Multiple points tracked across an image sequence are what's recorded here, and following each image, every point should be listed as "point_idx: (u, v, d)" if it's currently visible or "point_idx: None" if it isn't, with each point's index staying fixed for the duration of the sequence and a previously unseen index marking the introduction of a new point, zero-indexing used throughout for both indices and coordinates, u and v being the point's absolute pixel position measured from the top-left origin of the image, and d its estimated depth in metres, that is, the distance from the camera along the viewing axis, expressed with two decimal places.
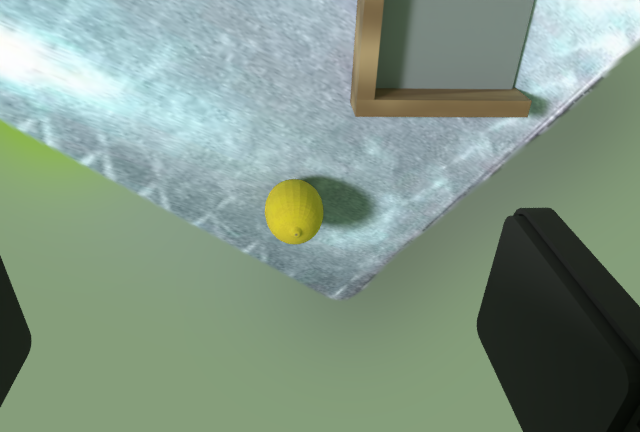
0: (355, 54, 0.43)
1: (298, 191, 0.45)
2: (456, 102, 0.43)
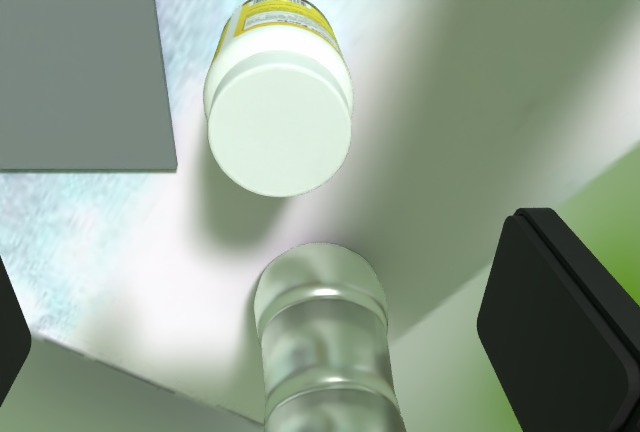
0: None
1: None
2: None
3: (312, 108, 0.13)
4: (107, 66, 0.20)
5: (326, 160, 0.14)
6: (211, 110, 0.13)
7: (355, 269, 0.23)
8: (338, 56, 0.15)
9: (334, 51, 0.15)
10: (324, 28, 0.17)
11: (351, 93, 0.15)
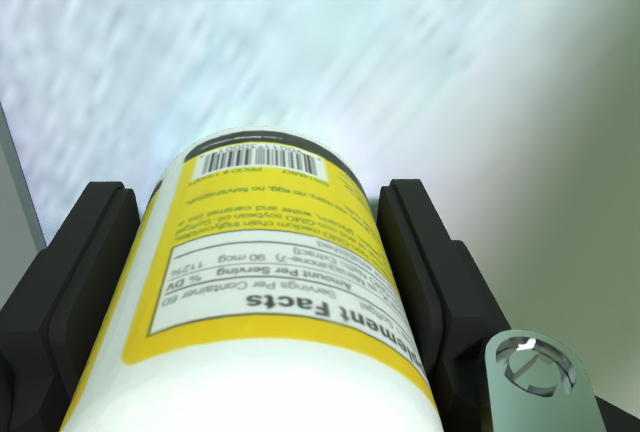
0: None
1: None
2: None
3: None
4: None
5: None
6: None
7: None
8: (417, 402, 0.05)
9: (407, 392, 0.05)
10: (363, 255, 0.07)
11: None
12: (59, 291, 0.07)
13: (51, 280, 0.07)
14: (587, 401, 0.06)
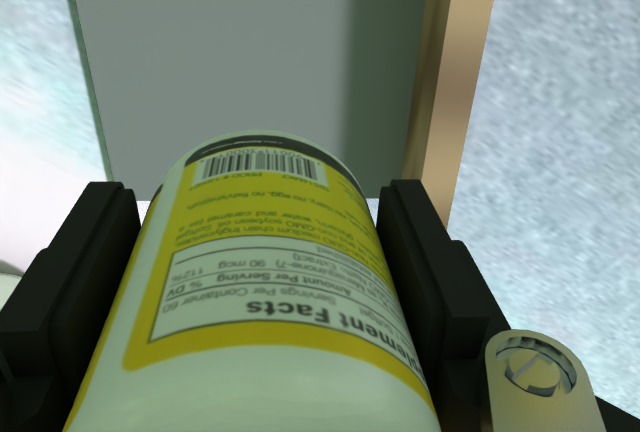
0: None
1: None
2: None
3: None
4: None
5: None
6: None
7: None
8: (416, 408, 0.05)
9: (406, 398, 0.05)
10: (362, 260, 0.07)
11: None
12: (59, 291, 0.07)
13: (51, 280, 0.07)
14: (587, 401, 0.06)
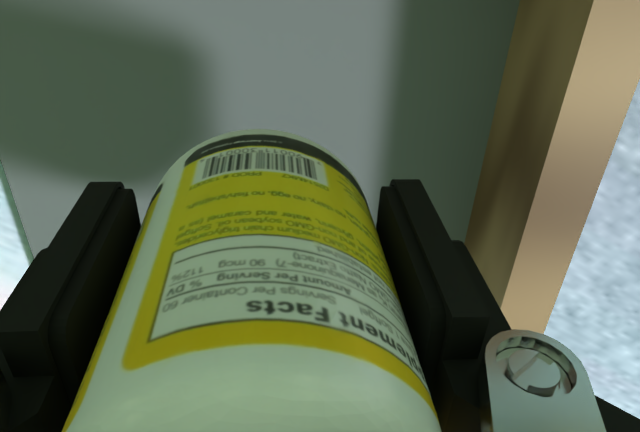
0: None
1: None
2: None
3: None
4: None
5: None
6: None
7: None
8: (416, 407, 0.05)
9: (406, 397, 0.05)
10: (362, 259, 0.07)
11: None
12: (59, 291, 0.07)
13: (51, 280, 0.07)
14: (587, 401, 0.06)
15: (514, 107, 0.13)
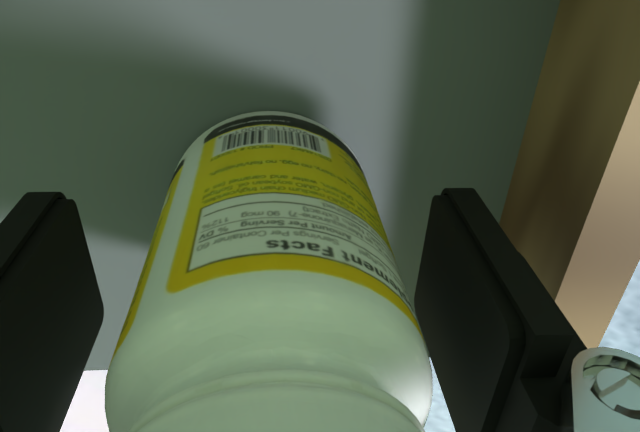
0: None
1: None
2: None
3: None
4: None
5: None
6: None
7: None
8: (405, 325, 0.07)
9: (397, 316, 0.07)
10: (361, 216, 0.08)
11: (430, 390, 0.07)
12: None
13: None
14: None
15: (550, 132, 0.11)
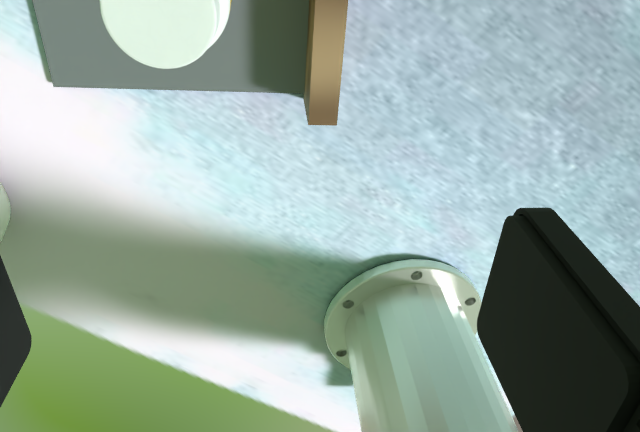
0: None
1: None
2: None
3: None
4: None
5: (198, 36, 0.18)
6: None
7: (0, 238, 0.29)
8: None
9: None
10: None
11: None
12: None
13: None
14: None
15: None
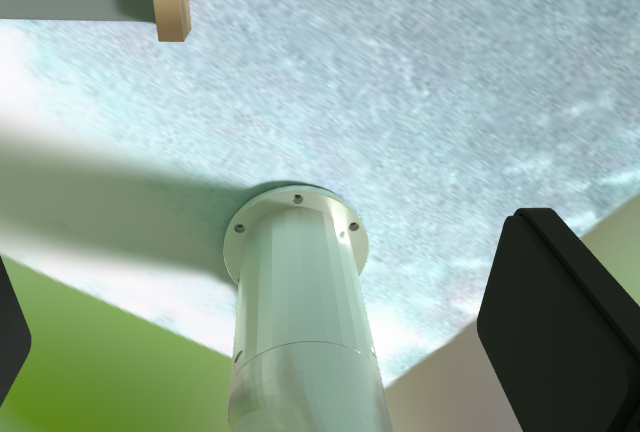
0: None
1: None
2: None
3: None
4: None
5: None
6: None
7: None
8: None
9: None
10: None
11: None
12: None
13: None
14: None
15: None
